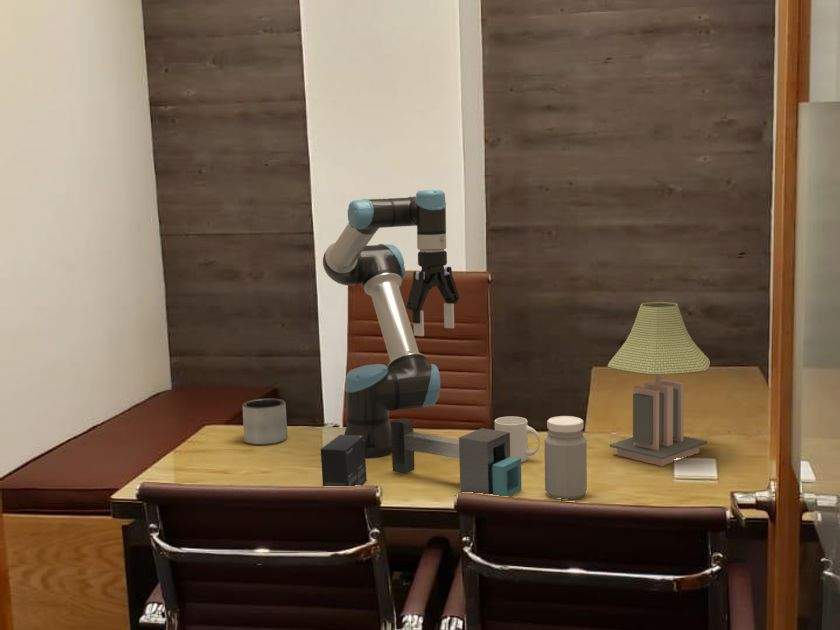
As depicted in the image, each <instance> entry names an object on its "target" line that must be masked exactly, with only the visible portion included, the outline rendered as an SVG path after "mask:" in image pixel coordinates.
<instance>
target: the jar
mask: <svg viewBox="0 0 840 630" xmlns="http://www.w3.org/2000/svg"><path fill="white" fill-rule="evenodd" d="M546 426H547V427H546V429H548V431H547V432H546V433H547V436H546V438H545V439H544V441H543V443H544V490H545V491H546V493H547V494H548V495H549V497H551V498H553V499H556V498H561V499H560V500H562V499H572V500H577V499H580V498H582V497H583V496H584V495H585V494H586V492H587V491H588V490H587V489H588V485H587V484H588V481H587V480H588V477H587V476H588V475H587V474H588V470H587V469H588V468H587V467H588V466H587V465H588V463H587V461H588V460H587V459H588V456H587V455H588V454H587V453H588V452H587V451H588V450H587V439H586V437H585V436H584V431H583V429H584V420H583V419H582V418H580V417H577V416H572V415H559V416H553V417H550V418H549V419H548V420H546Z"/></svg>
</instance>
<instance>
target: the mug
mask: <svg viewBox="0 0 840 630" xmlns="http://www.w3.org/2000/svg"><path fill="white" fill-rule="evenodd" d="M494 430H497V431H504V432H510V457H515V458H521V464H522V463H525V462H526V461H528V457H530V456H534V455H535V454H537V453H538V451H540V450H539V449H540V446H541V438H540V435H539V433H538V431H536V430H535V429H534V428H533V427H532V426H529V425H528V420H527V418H525V417H521V416H503V417H502V416H501V417H498V418H496V419H494ZM529 434H532V435H534V436H535V437H536V439H537V441H538V445H537V447H536V448H535V449H531V448H528V447H529V444H528V435H529Z"/></svg>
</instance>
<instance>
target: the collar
mask: <svg viewBox="0 0 840 630" xmlns="http://www.w3.org/2000/svg"><path fill="white" fill-rule="evenodd" d="M492 470H493V495H499V496H510V497H512V496H514V495H516V494H517V493H519V492H521V491H522V463H521V458H515V457H508V458H506V459H504V460H502V461H500V462H498V463H496V464H494V465H492ZM507 476H508V485H507ZM511 495H512V496H511Z"/></svg>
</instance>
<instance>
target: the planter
mask: <svg viewBox="0 0 840 630" xmlns="http://www.w3.org/2000/svg"><path fill="white" fill-rule="evenodd" d="M286 407H287V405H286V400H284V399H280V398H274V397H273V398H269V397H268V398H257V399H252V400H247V401H245V402H243V403H242V423H243V425H242V426H243V427H242V428H243V440H244V442H245V443H247V444H250V445H253V446H270V445H275V444H276V445H277V444H279V443H282V442H284V441H285V440H287V438H288V423H287V408H286Z"/></svg>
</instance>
